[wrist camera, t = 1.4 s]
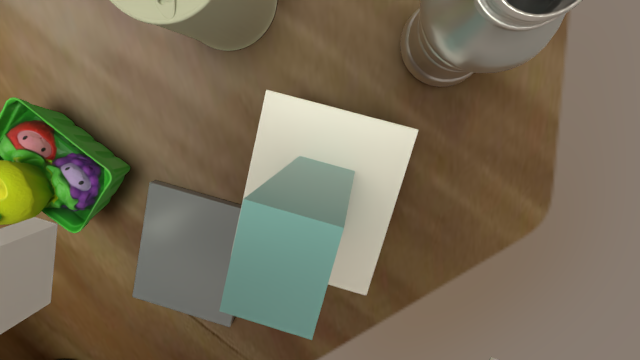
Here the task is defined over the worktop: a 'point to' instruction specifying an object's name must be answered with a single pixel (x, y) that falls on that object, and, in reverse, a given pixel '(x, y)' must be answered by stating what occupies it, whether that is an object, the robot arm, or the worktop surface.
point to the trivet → (186, 251)
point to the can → (207, 19)
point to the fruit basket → (52, 168)
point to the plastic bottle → (477, 36)
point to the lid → (312, 210)
